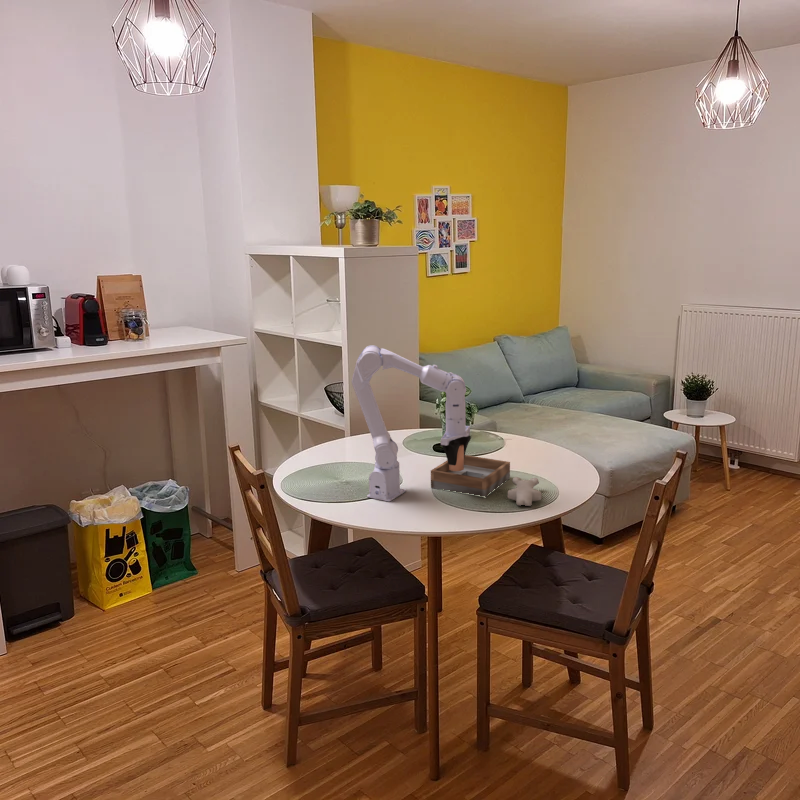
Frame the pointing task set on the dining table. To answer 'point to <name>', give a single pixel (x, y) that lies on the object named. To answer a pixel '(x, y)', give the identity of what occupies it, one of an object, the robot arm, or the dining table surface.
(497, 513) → the dining table surface
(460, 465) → the peg
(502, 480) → the tray
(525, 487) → the white soft plush figure
